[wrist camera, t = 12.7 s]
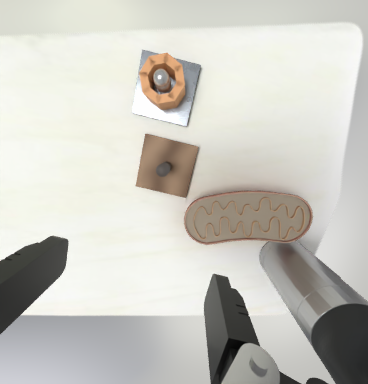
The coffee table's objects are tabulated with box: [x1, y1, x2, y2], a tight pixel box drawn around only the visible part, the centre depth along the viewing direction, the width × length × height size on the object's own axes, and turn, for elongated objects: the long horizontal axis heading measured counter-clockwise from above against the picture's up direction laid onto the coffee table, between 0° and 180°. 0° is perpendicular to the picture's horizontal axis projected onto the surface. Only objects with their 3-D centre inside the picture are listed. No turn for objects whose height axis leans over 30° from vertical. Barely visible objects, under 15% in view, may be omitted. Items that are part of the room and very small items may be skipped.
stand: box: [136, 134, 198, 198], centre depth 33 cm, size 10×10×7 cm
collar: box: [139, 53, 185, 110], centre depth 30 cm, size 6×6×5 cm
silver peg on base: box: [132, 50, 201, 127], centre depth 30 cm, size 10×10×7 cm
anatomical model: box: [184, 191, 313, 245], centre depth 36 cm, size 23×10×5 cm, turn 92°
